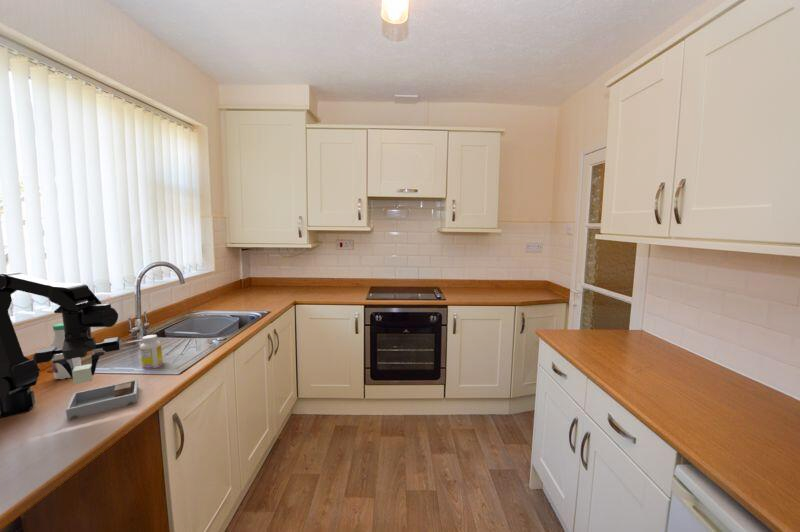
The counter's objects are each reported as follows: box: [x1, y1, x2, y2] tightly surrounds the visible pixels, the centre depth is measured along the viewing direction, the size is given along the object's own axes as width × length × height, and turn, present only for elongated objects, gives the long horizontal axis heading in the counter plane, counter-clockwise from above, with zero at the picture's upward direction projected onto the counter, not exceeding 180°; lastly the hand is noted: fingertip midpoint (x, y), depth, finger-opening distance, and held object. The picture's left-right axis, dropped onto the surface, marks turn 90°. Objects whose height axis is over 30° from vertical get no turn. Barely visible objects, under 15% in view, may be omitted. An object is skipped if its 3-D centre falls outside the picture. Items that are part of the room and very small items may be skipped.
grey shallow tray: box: [65, 379, 139, 421], centre depth 108 cm, size 16×13×4 cm
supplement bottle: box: [139, 334, 164, 370], centre depth 136 cm, size 7×7×13 cm
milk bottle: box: [50, 322, 82, 380], centre depth 128 cm, size 8×8×20 cm
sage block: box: [72, 363, 95, 385], centre depth 104 cm, size 4×4×4 cm
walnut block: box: [114, 382, 132, 398], centre depth 111 cm, size 4×4×4 cm
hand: (83, 376), depth 104 cm, fingers closed on sage block, 4 cm apart
